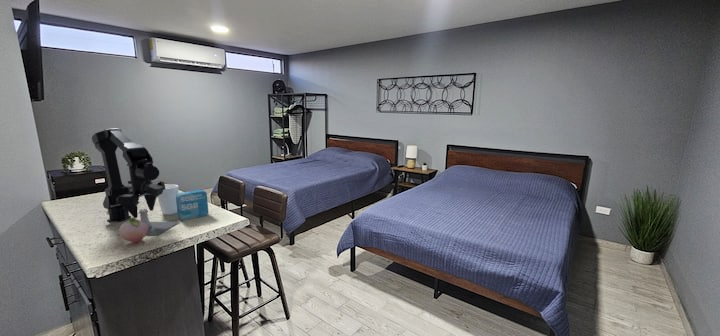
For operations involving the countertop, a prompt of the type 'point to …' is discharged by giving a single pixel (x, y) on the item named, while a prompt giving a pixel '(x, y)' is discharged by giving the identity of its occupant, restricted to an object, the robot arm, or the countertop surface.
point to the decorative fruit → (133, 230)
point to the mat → (160, 227)
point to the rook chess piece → (145, 217)
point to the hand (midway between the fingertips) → (144, 214)
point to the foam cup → (169, 199)
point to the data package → (192, 204)
